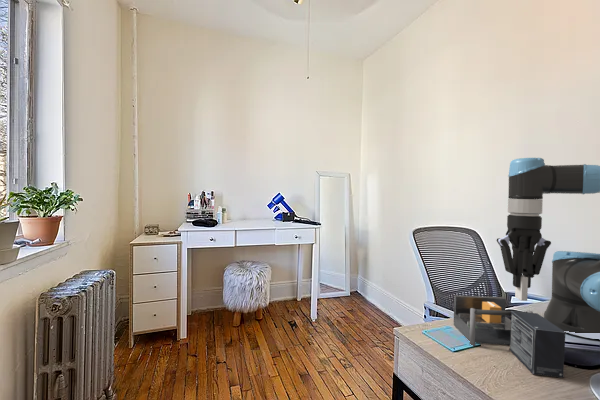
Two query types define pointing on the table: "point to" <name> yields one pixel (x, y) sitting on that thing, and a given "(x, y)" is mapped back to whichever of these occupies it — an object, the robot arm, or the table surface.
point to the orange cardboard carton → (491, 317)
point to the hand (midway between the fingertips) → (521, 298)
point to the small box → (537, 344)
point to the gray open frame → (484, 312)
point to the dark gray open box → (481, 320)
